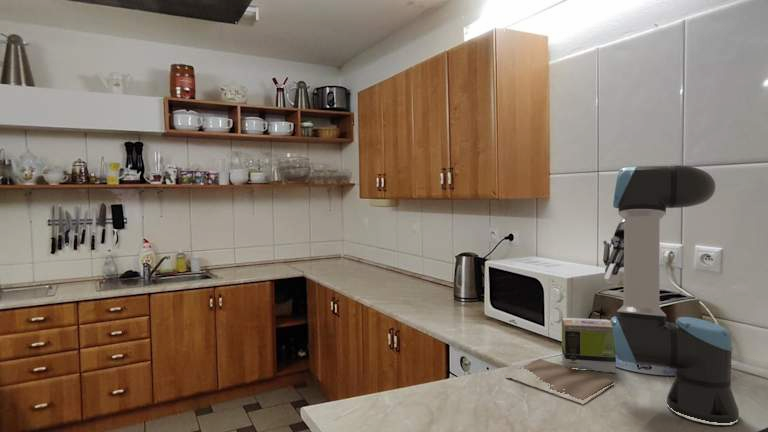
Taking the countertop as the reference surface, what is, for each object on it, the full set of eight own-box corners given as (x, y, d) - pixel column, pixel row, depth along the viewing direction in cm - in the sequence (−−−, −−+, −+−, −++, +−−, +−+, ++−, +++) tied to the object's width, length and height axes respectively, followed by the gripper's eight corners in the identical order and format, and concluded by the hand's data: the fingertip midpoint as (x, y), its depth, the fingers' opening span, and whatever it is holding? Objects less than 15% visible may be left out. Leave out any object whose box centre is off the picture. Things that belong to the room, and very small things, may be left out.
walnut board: (613, 384, 135) (614, 380, 135) (582, 404, 122) (583, 400, 122) (539, 362, 153) (539, 358, 153) (506, 377, 141) (506, 373, 141)
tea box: (609, 362, 152) (610, 318, 151) (616, 374, 143) (616, 327, 142) (561, 358, 156) (561, 315, 155) (564, 369, 147) (564, 324, 146)
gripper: (650, 237, 164) (630, 290, 154) (613, 235, 174) (592, 284, 164) (645, 223, 160) (624, 276, 150) (607, 221, 170) (585, 271, 160)
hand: (607, 280), depth 157 cm, fingers closed
